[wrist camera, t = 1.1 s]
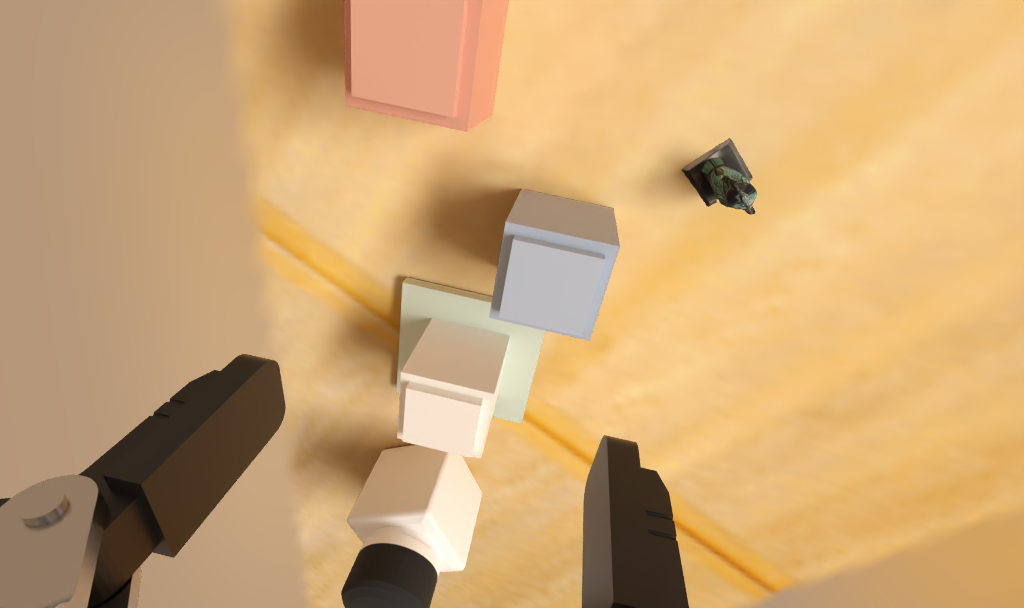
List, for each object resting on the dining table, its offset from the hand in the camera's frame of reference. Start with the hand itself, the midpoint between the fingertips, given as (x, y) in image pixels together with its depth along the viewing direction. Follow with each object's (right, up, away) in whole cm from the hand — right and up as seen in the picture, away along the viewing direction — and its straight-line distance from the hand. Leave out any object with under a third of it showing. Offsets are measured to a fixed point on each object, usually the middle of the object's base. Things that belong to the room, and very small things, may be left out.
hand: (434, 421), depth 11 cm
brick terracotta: (-1, +16, +12) cm, 20 cm away
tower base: (-1, -1, +22) cm, 22 cm away
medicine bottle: (-5, -12, +29) cm, 32 cm away
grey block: (+5, +7, +17) cm, 19 cm away
